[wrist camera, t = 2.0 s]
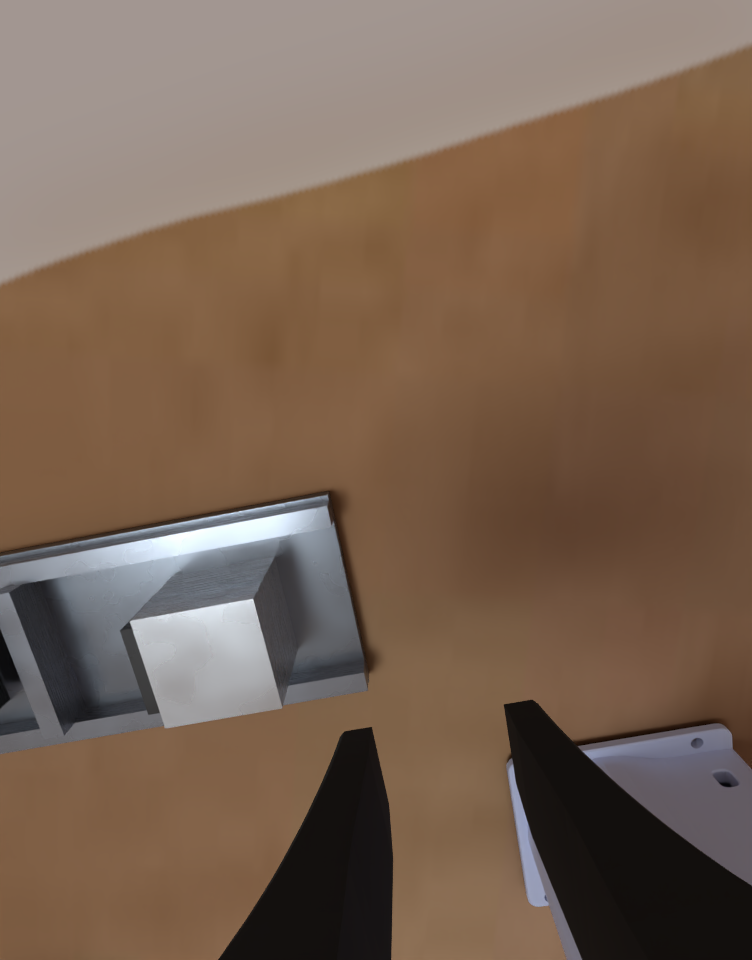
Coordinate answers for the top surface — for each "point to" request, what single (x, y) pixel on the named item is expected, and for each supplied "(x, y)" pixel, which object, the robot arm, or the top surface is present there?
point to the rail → (129, 586)
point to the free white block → (213, 644)
